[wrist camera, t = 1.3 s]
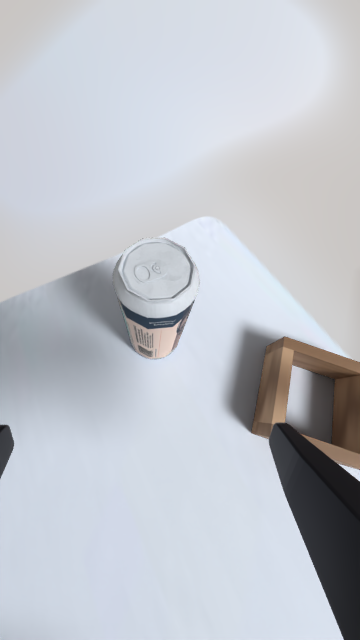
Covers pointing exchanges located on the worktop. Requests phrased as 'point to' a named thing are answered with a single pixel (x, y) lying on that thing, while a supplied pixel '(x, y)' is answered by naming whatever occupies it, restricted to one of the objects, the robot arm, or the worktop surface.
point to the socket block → (349, 395)
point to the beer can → (155, 294)
